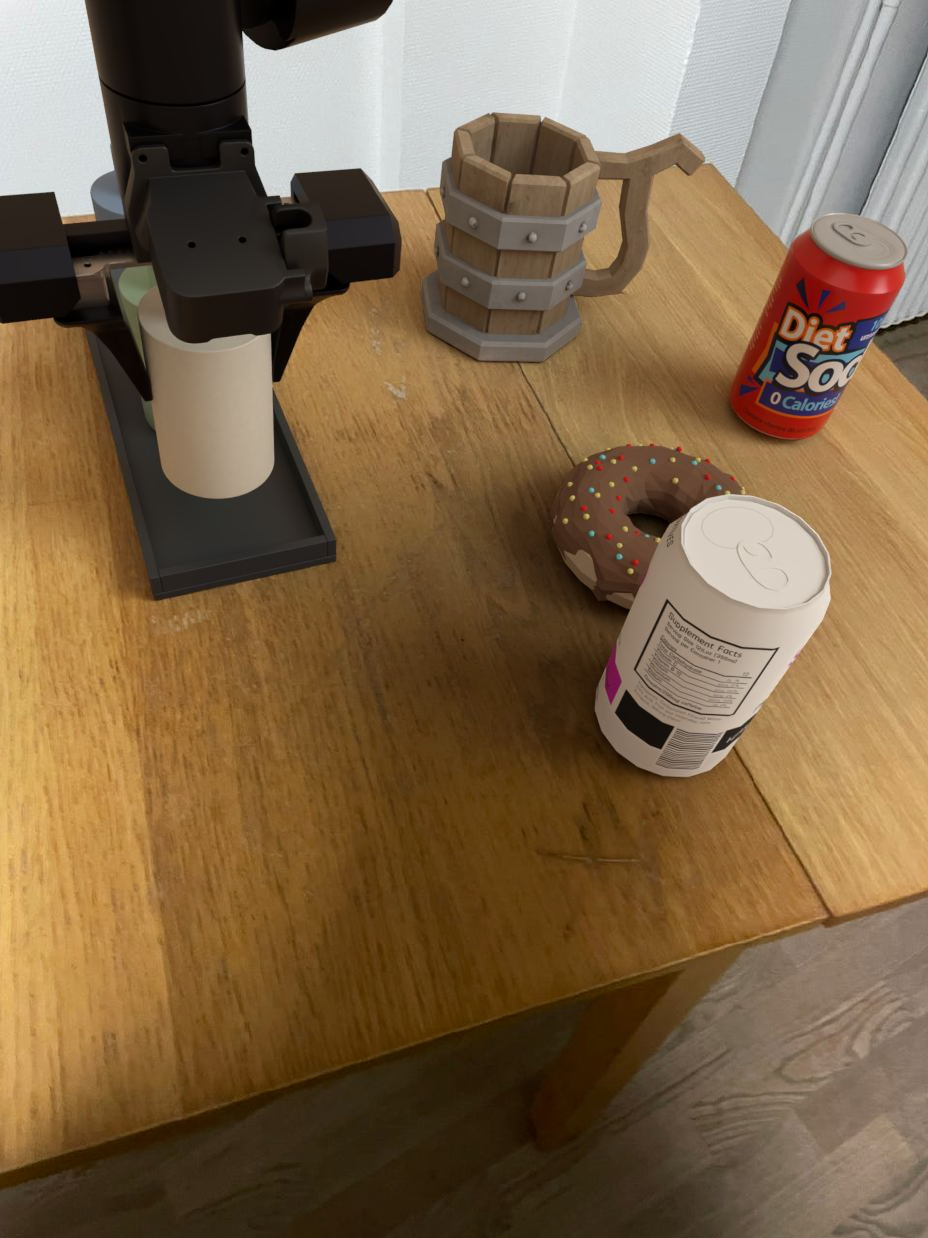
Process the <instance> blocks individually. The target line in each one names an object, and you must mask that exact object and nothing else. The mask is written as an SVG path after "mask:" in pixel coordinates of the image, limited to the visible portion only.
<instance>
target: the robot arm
mask: <svg viewBox="0 0 928 1238" xmlns="http://www.w3.org/2000/svg"><path fill="white" fill-rule="evenodd" d="M393 2H394V0H84V6H85V11H86V17H87V21H88V27H89V32H90V37H91V43H92V49H93V54H94V58H95V65H96V70H97V76H98V81H99V86H100V91H101V97H102V103H103V108H104V113H105V118H106V125H107V130H108V135H109V140H110V144H111V147H112V152H113V157H114V163H115V168H116V174H117V179H118V185H119V190H120V196H121V201H122V207H123V212H124V217H125V219H114V220H103V221H96V220H93V221H81V222H70V223H63V220H62V216H61V211H60V207H59V203H58V200H57V196H56V192H55V191H44V192H32V193H31V192H30V193H18V194H7V195H0V324H2V325H5V324H14V323H22V322H29V321H39V320H47V319H53V322H54V324H56V325H57V326H58V327H60V328H62V329H63V328H64V329H72V328H73V329H74V328H80V329H84V330H85V329H86V330H89V331H91V332H92V333H94V334H95V335H96V336H97V337H98V339H99V340H100V341H101V342H102V343H103V344H104V345H105V346H106V347H107V348H108V349H109V351H110V352H111V353H112V355H113V356H114V357H115V359H116V360H117V362H118V363H119V365H120V366H121V368H122V369H123V370H124V372H125V373H126V375H127V376H128V378H129V379H130V381H131V382H132V384H133V385H134V387H135V388H136V390H137V391H138V393H139V394H140V395H141V397H142V398H143V400H144V401H145V402H148V401H152V394H151V388H150V382H149V379H148V376H147V372H146V369H145V366H144V362H143V359H142V356H141V353H140V351H139V348H138V345H137V342H136V339H135V337H134V334H133V331H132V328H131V325H130V323H129V320H128V317H127V314H126V311H125V309H124V306H123V303H122V300H121V297H120V295H119V292H118V289H117V286H116V283H115V280H114V278H113V275H112V272H111V269H121V268H130V267H140V266H149V265H152V267H153V271H154V275H155V278H156V282H157V286H158V289H159V293H160V296H161V300H162V304H163V307H164V311H165V316H166V320H167V324H168V327H169V329H170V331H171V333H172V334H173V335H174V336H175V337H176V338H177V339H179V340H181V341H183V342H186V343H190V344H198V343H207V342H209V341H210V340H212V339H216V338H223V337H231V336H238V335H246V334H253V335H255V336H260V335H266V334H270V333H271V358H272V384H275V383H280V382H281V380H282V379H283V377H284V374H285V371H286V369H287V366H288V364H289V361H290V359H291V356H292V353H293V352H294V349H295V346H296V344H297V341H298V339H299V337H300V334H301V332H302V330H303V328H304V325H305V323H306V322H307V320H308V318H309V316H310V314H311V313H312V311H313V309H314V308H315V306H316V305H317V304H319V303H321V302H323V301H325V300H327V299H329V298H331V297H337V296H342V295H344V294H346V293H347V292H348V291H349V290H350V287H351V284H352V283H361V282H362V283H363V282H370V281H378V280H387V279H393V278H394V277H395V276H396V275H397V274H398V273H399V272H400V270H401V258H402V257H401V256H402V243H403V238H402V232H401V228H400V223H399V220H398V218H397V217H396V215H395V214H394V212H393V211H392V209H391V208H390V206H389V205H388V203H387V201H386V200H385V198H384V196H383V195H382V193H381V192H380V190H379V188H378V187H377V185H376V184H375V182H374V181H373V179H372V178H371V177H370V176H369V175H368V174H367V173H366V172H365V171H364V170H363V169H362V168H361V167H357V168H345V169H332V170H319V171H305V172H294V174H293V176H292V177H291V180H290V184H289V185H290V196H282V197H281V195H279V194H277V195H268V194H267V191H266V189H265V186H264V184H263V181H262V178H261V176H260V174H259V171H258V169H257V166H256V156H255V147H254V146H253V145H254V144H253V131H252V128H251V126H250V124H249V123H250V122H249V110H248V108H249V107H248V95H247V93H248V92H247V78H246V66H245V65H246V63H245V50H244V36H243V33H244V35H245V36H246V37H247V38H248V39H249V40H250V41H251V42H253V43H254V44H255V45H257V46H258V47H260V48H262V49H265V50H267V51H268V50H270V51H274V52H275V51H280V50H284V49H288V48H292V47H294V46H297V45H300V44H304V43H307V42H310V41H314V40H318V39H320V38H324V37H327V36H330V35H332V34H333V35H334V34H337V33H340V32H343V31H346V30H350V29H352V28H356V27H359V26H362V25H366V24H370V23H373V22H375V21H376V22H377V20H379V19H380V18H382V17H383V16H384V15H385V14H386V13H387V11H388V10H389V9H390V7H391V6H392V4H393Z"/></svg>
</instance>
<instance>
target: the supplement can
mask: <svg viewBox="0 0 928 1238" xmlns="http://www.w3.org/2000/svg"><path fill="white" fill-rule="evenodd" d="M660 538H661V540H660V542H659V543H658V546H657V548H656V551H655V553H654V555H653V558H652V560H651V562H650V565H649V567H648V569H647V572H646V574H645V576H644V579H643V581H642V583H641V586H640V588H639V590H638V593H637V595H636V597H635V600H634V602H633V604H632V607H631V609H629V612H628V614H627V616H626V619H625V621H624V623H623V626H622V628H621V630H620V632H619V635H618V638H617V640H616V642H615V644H614V647H613V649H612V652H611V654H610V657H609V658H608V661H607V663H606V665H605V668H604V670H603V673H602V675H601V678H600V680H599V682H598V684H597V686H596V690H595V699H594V700H595V701H594V712H595V715H596V718H597V721H598V724H599V729H600V731H601V733H602V734H603V735H604V737H605V738H606V739H607V741H608V742H609V744H610V745H611V746H612V748H613V749H614V750H615V751H616V752H617V753H618V754H619V755H621V756H622V757H623V758H625V759H626V760H628V761H629V762H630V763H632V764H633V765H635V767H637V768H640V769H642V770H645V771H648V772H650V773H653V774H656V775H659V776H661V777H675V778H677V777H678V778H691V777H692V776H696V775H699V774H700V775H701V774H703V773H705V772H709V771H712V769H713V768H714V767H716V766H717V765H718V764H719V763H720V762H722V761H723V760H724V759H725V758H726V757H727V756H728V754H729V753H730V752H731V750H732V749H733V747H735V745H736V743H737V741H738V740H739V739H740V737H741V736H742V734H744V732H745V730H746V729H747V728H748V726H749V725H750V723H751V722H752V720H753V719H754V718H755V717H756V716H757V713H758V712H759V711H760V709H761V708H762V707H763V705H764V704H765V702H766V701H767V699H768V698H769V697H770V695H771V694H772V693H773V691H774V690H775V688H776V687H777V685H778V684H779V682H780V681H781V680H782V678H783V677H784V675H786V672H787V671H788V669H789V668H790V667H791V666H792V664H793V663H794V662H795V660H796V659H797V657H798V656H799V654H800V653H801V651H802V650H803V649H804V647H805V646H806V644H807V643H808V642H809V641H810V639H811V637H812V636H813V634H814V633H815V632H816V630H817V629H818V627H819V626H820V625H821V623H822V622H823V620H824V617H825V616H826V613H827V610H828V607H829V604H830V603H831V600H832V598H831V597H832V596H831V587H830V579H831V577H832V566H831V565H832V563H831V557H830V556H831V555H830V552H829V551H828V549H827V547H826V545H825V544H824V542H823V540H822V538H821V536H820V535H819V533H818V532H817V531H815V530H814V528H812V526H810V525H809V523H807V522H806V521H805V520H804V519H803V518H802V517H801V516H799V515H798V514H796V513H794V512H792V511H791V510H789V509H788V508H785V507H784V506H783V505H781V504H779V503H776V502H773V501H770V500H768V499H765V498H761V497H758V496H754V495H748V494H746V495H735V494H726V495H721V496H717V497H712V498H707V499H705V500H704V501H702V502H701V503H699V504H698V505H696V506H694V507H693V508H691V509H690V511H689V512H688V513H687V514H685V515H683V516H682V517H680V518H679V519H677V520H676V521H674V522H673V523H669V525H668V526H667V528H666V530H665V532H664V533H663V535H662V536H661V537H660Z"/></svg>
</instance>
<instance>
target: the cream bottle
mask: <svg viewBox="0 0 928 1238" xmlns="http://www.w3.org/2000/svg"><path fill="white" fill-rule="evenodd" d="M137 316H138V323H139V329H140V335H141V341H142V348H143V354H144V360H145V366H146V372H147V376H148V379H149V382H150V388H151V394H152V401H151V404H152V410H153V416H154V422H155V429H156V435H157V441H158V447H159V453H160V460H161V465H162V469H163V472H164V474H165V475H166V477H167V478H168V479H169V480H170V482H171V483H172V484H174V485H175V486H176V487H178V488H179V489H181V490H183V491H185V492H187V493H189V494H192V495H195V496H199V497H203V498H212V499H224V498H232V497H236V496H240V495H243V494H246V493H248V492H250V491H252V490H254V489H256V488H257V487H259V486H260V485H261V484H263V483H264V482H265V481H266V479H267V478H268V477H269V475H270V474H271V472H272V469H273V466H274V432H273V395H272V386H273V382H272V358H271V333H270V334H266V335H260V336H255V335H253V334H246V335H238V336H231V337H223V338H216V339H212V340H210V341H209V342H207V343H198V344H190V343H186V342H183V341H181V340H179V339H177V338H176V337H175V336H174V335H173V334H172V333H171V331H170V329H169V327H168V324H167V320H166V316H165V311H164V307H163V304H162V300H161V296H160V293H159V289H158V286H157V285H156V286H154V287H153V288H151V289H150V290H149V291H148V292H147V293H146V294H145V295H144V296H143V297H142V298H141V300H140V302H139V305H138V309H137Z"/></svg>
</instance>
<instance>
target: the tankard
mask: <svg viewBox="0 0 928 1238" xmlns="http://www.w3.org/2000/svg"><path fill="white" fill-rule="evenodd" d="M705 162H706V157H705V155H704V153H703V152H702V150H700V149H699V148H698V146H696V145H695V144H693V143H692V142H691V141H690V140H689V139H688V138H686V137H685V136H684V135H683V134H682V133H680V132H678V133H676V134H674V135H670V136H669V137H666V138H663V139H661V140H659V141H657V142H654V143H652V144H649V145H646V146H643V147H640V148H636V149H633V150H630V151H627V152H615V151H602V150H595V148H594V146H593V143H592V141H591V139H590V138H589V137H587V135H586V134H584V133H582V132H579V131H577V130H575V129H573V128H571V127H569V126H566V125H565V124H562V123H560V122H558V121H556V120H554V119H551V118H549V117H547V116H544V118H543V119H542V116H541V115H539V114H524V113H523V114H522V113H511V112H509V113H508V112H497V111H496V112H492V113H489V112H487V113H485V114H483V115H481V116H479V117H477V118H475V119H473V120H471V121H469V122H466V123H464V124H462V125H460V126H458V127H457V128H455V129H454V131H453V136H452V146H451V157H448V158H446V159H444V160H443V161H442V162H441V171H440V182H439V195H440V198H441V202H442V208H443V212H444V218H443V220H440V221H439V222H437V223H435V231H434V241H433V242H434V243H433V255H434V257H435V263H436V267H437V269H435V270H434V271H432V272H430V273H428V274H427V275H426V276H424V277H422V278H421V285H420V295H421V302H422V308H423V315H424V320H425V325H426V327H425V328H426V331H427V332H429V333H430V334H432V335H433V336H435V337H437V338H438V339H440V340H442V341H444V342H446V343H447V344H449V345H451V346H453V347H454V348H456V349H458V350H459V351H461V352H463V353H464V354H466V355H468V356H470V357H472V358H473V359H475V360H477V361H479V362H518V363H519V362H521V363H522V362H523V363H543V362H544V361H546V360H547V359H549V358H550V357H551V356H552V355H554V354H555V353H556V352H558V351H559V350H560V349H562V348H563V347H564V346H565V345H567V344H568V343H569V342H571V341H572V340H573V339H574V338H576V337H577V336H578V335H580V332H581V328H582V323H583V319H582V316H581V313H580V310H579V307H578V304H577V301H576V298H575V297H584V298H597V297H607V296H612V295H620V294H621V293H622V292H624V290H625V289H626V287H627V286H628V285H629V284H630V283H631V282H632V281H633V280H634V279H635V277H636V276H637V275H638V274H639V273H640V272H641V271H642V269H643V268H644V265H645V261H646V258H647V256H648V253H649V250H650V247H651V233H650V222H649V221H650V219H649V205H650V199H651V195H652V188H653V184H654V177H655V175H657V174H659V173H661V172H664V171H665V170H667V169H669V168H671V167H674V166H676V167H677V168H678V169H679V170H681V171H682V172H683V173H684V174H685V175H686V176H687V177H690V176H693V175H694V174H695V173H696V172H697V170H699V169H700V168H701V166H702V165H703V164H705ZM599 180H601V181H602V180H604V181H605V180H606V181H607V180H608V181H609V180H611V181H613V180H615V181H618V180H619V181H622V182H621V183H622V184H621V190H620V195H619V201H618V202H619V203H618V211H619V212H618V214H619V222H620V230H621V240H622V241H621V243H620V247H619V250H618V253H617V257H616V258H615V259H614V260H613V261H612V263H611V264H610V265H609V266H608V267H606V268H605V267H604V268H601V269H589V268H587V265H588V262H587V259H586V257H585V254H584V251H583V244H584V240H585V236H587V235H589V234H591V232H593V231H595V230H596V228H597V224H598V220H599V215H600V212H601V208H602V204H603V202H602V199H601V196H600V194H599V192H598V189H597V186H598V182H599Z"/></svg>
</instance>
